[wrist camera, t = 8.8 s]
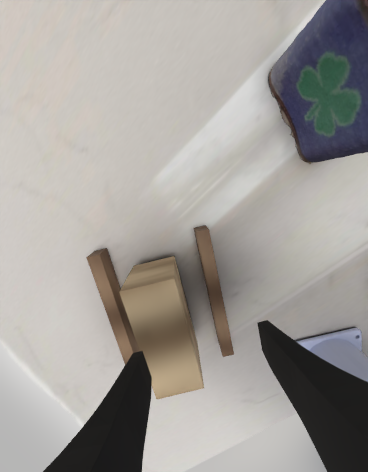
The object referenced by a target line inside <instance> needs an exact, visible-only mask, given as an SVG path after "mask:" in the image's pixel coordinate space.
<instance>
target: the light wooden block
mask: <svg viewBox="0 0 368 472" xmlns="http://www.w3.org/2000/svg"><path fill="white" fill-rule="evenodd" d="M119 293H120V296H121V299H122V302H123V304H124V307H125V310H126V313H127V316H128V319H129V322H130V324H131V327H132V330H133V333H134V336H135V339H136V342H137V344H138V347H139V350H140V351H143V354H144V357H145V359H146V362H147V365H148V368H149V371H150V374H151V377H152V384H151V385H152V387H153V390H154V393H155V396H156V399H161V398H165V397H169V396H173V395H177V394H181V393H186V392H190V391H194V390H198V389H202V388H204V384H203V378H202V371H201V365H200V358H199V351H198V345H197V340H196V336H195V332H194V329H193V325H192V321H191V317H190V313H189V310H188V306H187V302H186V298H185V294H184V291H183V287H182V283H181V279H180V276H179V272H178V268H177V264H176V260H175V257H174V256H172V257H168V258H164V259H160V260H156V261H152V262H148V263H144V264H139V265H135V266H133V268H132V270H131V272H130V274H129V275H128V277H127V279H126V281H125V283H124V284H123V286H122V288H121V290H120V292H119Z"/></svg>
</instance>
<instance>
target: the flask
mask: <svg viewBox="0 0 368 472" xmlns="http://www.w3.org/2000/svg"><path fill="white" fill-rule="evenodd" d="M269 83H270V84H269V85H270V89H271V93H272V95H273V97H276V99H277V101H278V104H279V105H280V109H281V110H280V112H281V114H282V118H283V119H284V122H285V123H286V124H288V126H290V127H291V130H292V133H291V135H292V136H293V137H294V138H295V140H296V146H295V147H297V149H298V153H299V155H300V159H302V160H303V161H305V162H308V163H309V164H311V162H320V161H325V160H330V159H334V158H340V157H345V156H349V155H354V154H358V153H365V152H368V0H326V1H325V2H324V3H323V5H322V6H321V7H320V8H319V10H318V11H317V12H316V14H315V15H314V17H313V18H312V19H311V21H310V22H309V23H308V24H307V25H306V26H305V28H304V29H303V30H302V31H301V32H300V33H299V34H298V36H297V37H296V38H295V40H294V41H293V43H292V44H291V45H290V46H289V48H288V49H287V50H286V51H285V52H284V54H283V55H282V56H281V57H280V59H279V60H278V61H277V62H276V63H275V64H274V65H273V67H272V69H271V72H270V73H269Z"/></svg>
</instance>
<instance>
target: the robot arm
mask: <svg viewBox="0 0 368 472" xmlns="http://www.w3.org/2000/svg"><path fill="white" fill-rule="evenodd" d="M258 329H259V334H260V340H261V345H262V351H263V353H264V355H265V357H266V359H267V361H268V363H269V366H270V368H271V369H272V371H273V373H274V375H275V376H276V378H277V380H278V381H279V383H280V385H281V386H282V388H283V390H284V391H285V393H286V395H287V396H288V398H289V400H290V401H291V403H292V405H293V406H294V408H295V410H296V411H297V413H298V415H299V417H300V418H301V420H302V422H303V424H304V426H305V428H306V430H307V432H308V433H309V436H310V437H311V440H312V441H313V443H314V445H315V448H316V450H317V452H318V454H319V456H320V458H321V460H322V462H323V464H324V465H325V468H326V470H327V472H368V357H367V356H366V355H365V354H364V353H362V336H361V330H359V329H358V328H352V329H348V330H343V331H339V332H335V333H330V334H326V335H321V336H317V337H313V338H308V339H304V340H300V341H294V340H293V339H291V338H290V337H289V336H287V335H286V334H285V333H283V332H282V331H281V330H279V329H278V328H277V327H275V326H274V325H273V324H272V323H270V322H269V321H263V322H259V323H258ZM151 384H152V377H151V374H150V371H149V368H148V365H147V362H146V359H145V357H144V354H143V351H139V352H135V353H133V354H132V355H131V357H130V358H129V360H128V362H127V363H126V365H125V367H124V368H123V370H122V372H121V373H120V375H119V377H118V378H117V380H116V381H115V383H114V384H113V386H112V388H111V389H110V391H109V392H108V394H107V395H106V397H105V398H104V399H103V401H102V402H101V404H100V405H99V407H98V408H97V410H96V411H95V412H94V414H93V415H92V416H91V417H90V419H89V420H88V421H87V423H86V424H85V425H84V426H83V428H82V429H81V430H80V431H79V432H78V434H77V435H76V436H75V437H74V438H73V439H72V441H71V442H70V443H69V444H68V445H67V446H66V448H65V449H64V450H63V451H62V452H61V453H60V455H59V456H58V457H56V459H55V460H54V461H53V462H52V463H51V464H50V465H49V466H48V467H47V468H46V469H45V470H44V471H43V472H142V459H143V450H144V443H145V436H146V429H147V422H148V415H149V408H150V401H151Z"/></svg>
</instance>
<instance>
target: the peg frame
mask: <svg viewBox="0 0 368 472" xmlns="http://www.w3.org/2000/svg"><path fill="white" fill-rule="evenodd" d="M194 232H195V236H196V241H197V245H198V250H199V254H200V259H201V264H202V268H203V273H204V277H205V282H206V286H207V291H208V296H209V300H210V305H211V309H212V314H213V318H214V323H215V327H216V332H217V337H218V341H219V345H220V348H221V352H222V355H223V357H225V356H229V355H233V354H234V352H233V347H232V342H231V337H230V332H229V327H228V322H227V317H226V312H225V307H224V302H223V297H222V292H221V288H220V283H219V278H218V273H217V268H216V263H215V258H214V253H213V248H212V243H211V238H210V233H209V229H208V228H207V227H206V226H200V227H196V228H194ZM87 260H88V263H89V266H90V268H91V271H92V274H93V277H94V279H95V282H96V285H97V288H98V290H99V293H100V296H101V299H102V302H103V304H104V307H105V310H106V313H107V315H108V318H109V321H110V324H111V326H112V329H113V332H114V335H115V338H116V340H117V343H118V346H119V349H120V351H121V354H122V357H123V360H124V362H125V365H126V363H127V362H128V360H129V358H130V357H131V355H132V354H133V353H135V352H139V351H140V350H139V347H138V344H137V342H136V339H135V336H134V333H133V330H132V327H131V324H130V322H129V319H128V316H127V313H126V310H125V307H124V304H123V302H122V299H121V296H120V293H119V292H120V290H121V289H120V286H119V283H118V280H117V277H116V274H115V271H114V268H113V265H112V262H111V259H110V256H109V253H108V250H107V248H106V249H101V250H97V251H95V252H93V253H92V254H90V255H89V256H88V257H87Z"/></svg>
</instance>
